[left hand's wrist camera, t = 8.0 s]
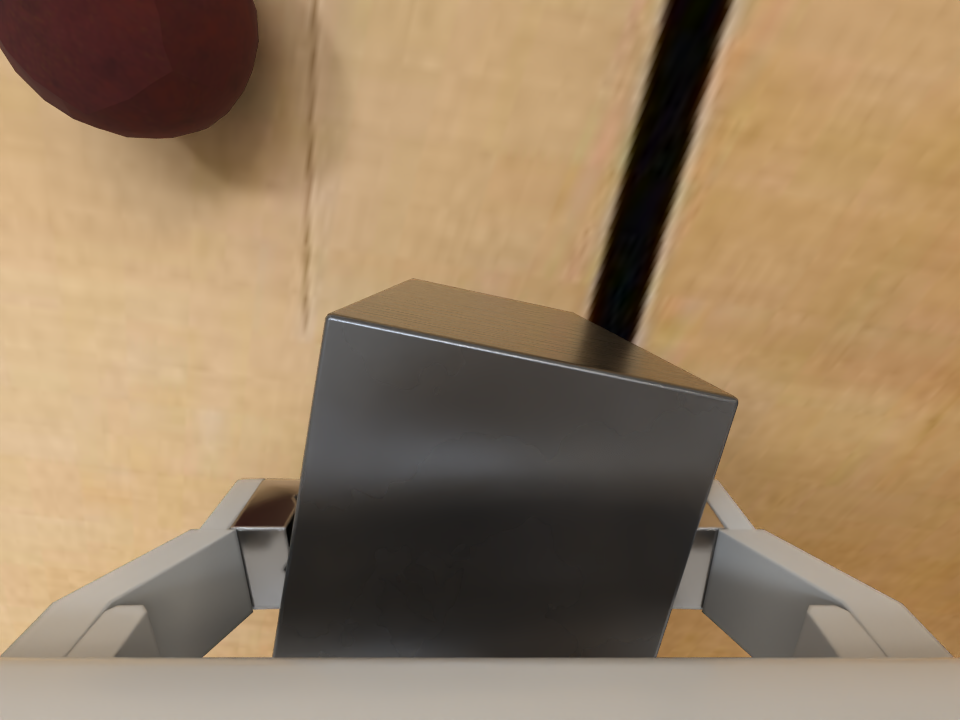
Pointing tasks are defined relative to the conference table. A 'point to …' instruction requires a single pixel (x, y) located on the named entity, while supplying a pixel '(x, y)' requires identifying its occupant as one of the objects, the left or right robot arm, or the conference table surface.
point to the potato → (134, 59)
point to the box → (493, 484)
